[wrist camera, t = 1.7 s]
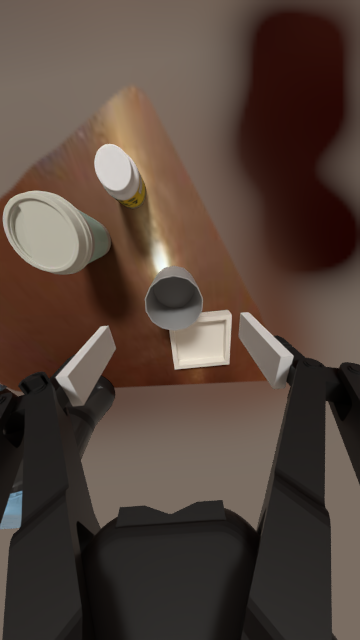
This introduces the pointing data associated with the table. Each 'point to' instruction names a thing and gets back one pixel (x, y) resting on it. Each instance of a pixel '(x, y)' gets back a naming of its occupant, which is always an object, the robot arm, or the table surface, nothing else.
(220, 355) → the tray
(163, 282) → the cup
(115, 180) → the supplement bottle
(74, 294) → the table surface
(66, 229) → the coffee cup
